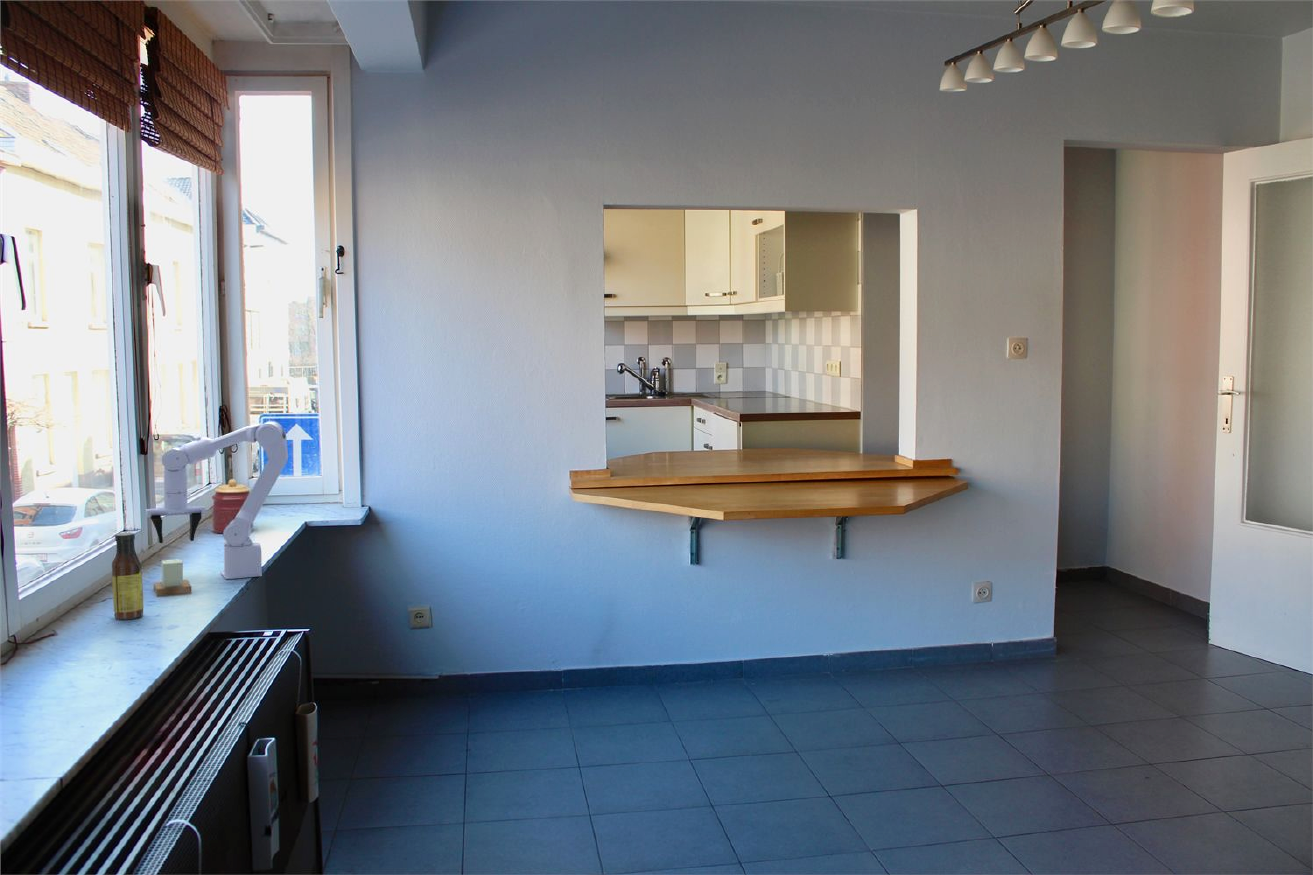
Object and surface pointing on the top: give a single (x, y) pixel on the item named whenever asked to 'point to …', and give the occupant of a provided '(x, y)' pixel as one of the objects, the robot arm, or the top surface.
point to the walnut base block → (172, 589)
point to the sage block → (172, 572)
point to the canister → (227, 504)
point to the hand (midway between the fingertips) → (176, 541)
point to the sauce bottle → (127, 579)
